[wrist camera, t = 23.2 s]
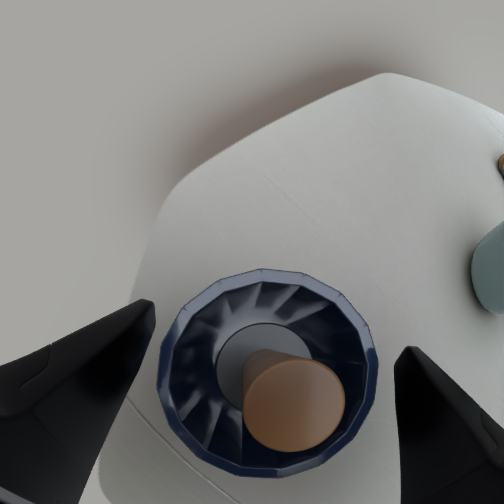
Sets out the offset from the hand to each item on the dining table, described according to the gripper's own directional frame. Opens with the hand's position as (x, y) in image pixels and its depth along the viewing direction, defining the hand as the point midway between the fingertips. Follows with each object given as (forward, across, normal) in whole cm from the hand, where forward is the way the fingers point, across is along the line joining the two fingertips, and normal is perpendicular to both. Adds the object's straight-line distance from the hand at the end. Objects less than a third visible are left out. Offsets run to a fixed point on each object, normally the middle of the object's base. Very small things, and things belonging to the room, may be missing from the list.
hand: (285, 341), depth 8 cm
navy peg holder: (+5, 0, +7) cm, 9 cm away
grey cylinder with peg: (+5, 0, +7) cm, 8 cm away
